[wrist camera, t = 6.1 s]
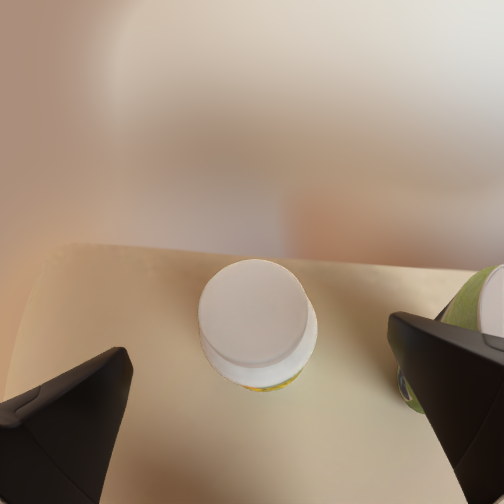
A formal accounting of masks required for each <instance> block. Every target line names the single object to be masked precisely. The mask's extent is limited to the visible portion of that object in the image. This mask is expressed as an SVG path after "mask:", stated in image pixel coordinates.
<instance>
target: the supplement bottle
mask: <svg viewBox="0 0 504 504" xmlns="http://www.w3.org/2000/svg"><path fill="white" fill-rule="evenodd" d="M198 321H199V325H200V341H201V345H202V348H203V351H204V354H205V356H206V358H207V359H208V361H209V362H210V364H211V365H212V367H213V368H214V369H215V370H216V371H217V372H218V373H220V374H221V375H222V376H224V377H225V378H227V379H228V380H230V381H232V382H234V383H236V384H238V385H240V386H242V387H245V388H247V389H250V390H253V391H259V392H270V391H275V390H279V389H281V388H283V387H285V386H287V385H288V384H290V383H291V382H292V381H293V380H294V379H295V378H296V377H297V376H298V375H299V373H300V372H301V370H302V369H303V367H304V366H305V365H306V363H307V362H308V360H309V358H310V357H311V355H312V352H313V350H314V347H315V344H316V340H317V332H318V327H317V319H316V314H315V311H314V309H313V306H312V304H311V302H310V301H309V299H308V298H307V296H306V293H305V291H304V289H303V287H302V285H301V284H300V282H299V281H298V279H297V278H296V277H295V276H294V275H293V274H292V273H291V272H290V271H289V270H287V269H286V268H284V267H283V266H281V265H279V264H277V263H274V262H271V261H266V260H260V259H250V260H242V261H239V262H236V263H233V264H231V265H228V266H226V267H225V268H223V269H222V270H220V271H219V272H218V273H216V274H215V275H214V276H213V277H212V278H211V279H210V280H209V282H208V283H207V285H206V286H205V288H204V290H203V292H202V294H201V297H200V300H199V306H198Z"/></svg>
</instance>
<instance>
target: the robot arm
mask: <svg viewBox="0 0 504 504" xmlns="http://www.w3.org/2000/svg"><path fill="white" fill-rule="evenodd" d="M387 338H388V342H389V344H390V346H391V348H392V351H393V353H394V355H395V358H396V360H397V362H398V364H399V367H400V369H401V371H402V373H403V375H404V377H405V379H406V381H407V382H408V384H409V386H410V388H411V389H412V391H413V393H414V395H415V397H416V398H417V400H418V402H419V404H420V406H421V407H422V409H423V411H424V413H425V415H426V417H427V418H428V420H429V422H430V424H431V426H432V428H433V430H434V432H435V434H436V436H437V438H438V440H439V442H440V444H441V446H442V448H443V450H444V452H445V454H446V456H447V458H448V460H449V462H450V464H451V466H452V468H453V469H454V473H455V475H456V477H457V479H458V482H459V484H460V486H461V488H462V491H463V493H464V495H465V498H466V500H467V502H468V504H498V503H499V502H501V501H502V500H503V499H504V338H502V337H498V336H494V335H490V334H486V333H482V334H481V332H478V331H474V330H470V329H466V328H462V327H458V326H454V325H451V324H447V323H443V322H439V321H435V320H432V319H428V318H424V317H420V316H417V315H413V314H409V313H406V312H402V311H399V312H395V313H391V314H390V316H389V321H388V333H387ZM132 376H133V366H132V363H131V361H130V358H129V355H128V353H127V350H126V349H125V348H124V347H113V348H111V349H109V350H107V351H105V352H103V353H101V354H100V355H98V356H96V357H94V358H92V359H90V360H88V361H86V362H84V363H82V364H80V365H79V366H77V367H75V368H73V369H71V370H69V371H67V372H65V373H63V374H61V375H59V376H57V377H55V378H53V379H51V380H49V381H47V382H45V383H44V384H42V385H39V386H38V387H36V388H34V389H32V390H29V391H27V392H25V393H23V394H21V395H19V396H16V397H14V398H12V399H10V400H7V401H5V402H2V403H0V504H99V501H100V497H101V493H102V489H103V485H104V481H105V477H106V473H107V469H108V466H109V462H110V458H111V455H112V451H113V448H114V444H115V441H116V438H117V434H118V431H119V428H120V424H121V421H122V418H123V415H124V412H125V408H126V404H127V400H128V395H129V390H130V386H131V381H132Z"/></svg>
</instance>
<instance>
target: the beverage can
mask: <svg viewBox="0 0 504 504" xmlns="http://www.w3.org/2000/svg"><path fill="white" fill-rule="evenodd" d="M434 320H435V321H439V322H443V323H447V324H451V325H454V326H458V327H462V328H466V329H470V330H474V331H478V332H481V334H482V333H486V334H490V335H494V336H498V337H502V338H504V264H502V265H499V266H492V267H488V268H486V269H483V270H481V271H479V272H478V273H476V274H475V275H473V276H472V277H471V278H470V279H469V280H468V281H467V282H466V283H465V284H464V286H463V287H462V288H461V289H460V291H459V292H458V293H457V294H456V295H455V297H454V298H453V299H452V300H451V301H450V302H449V303H448V305H447V306H446V307H445V308H444V309H443V310H442V311H441V312H440V313H439V315H438V316H437V317H436V318H435V319H434ZM397 382H398V387H399V391H400V394H401V396H402V398H403V399H404V401H405V402H406V404H407V405H408V406H409V407H410V408H412V409H413V410H415V411H417V412H419V413H422V414H425V413H424V411H423V409H422V407H421V406H420V404H419V402H418V400H417V398H416V397H415V395H414V393H413V391H412V389H411V388H410V386H409V384H408V382H407V381H406V379H405V377H404V375H403V373H402V371H401V369H400V367H399V366H398V372H397Z"/></svg>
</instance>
